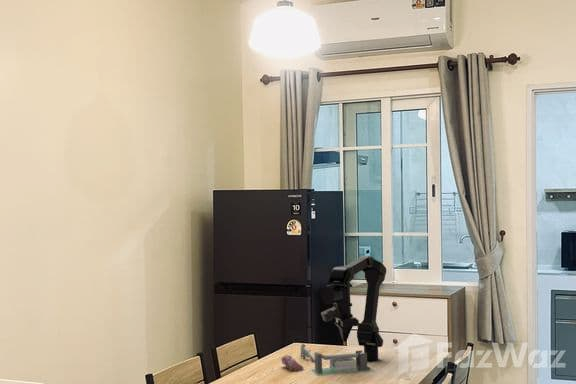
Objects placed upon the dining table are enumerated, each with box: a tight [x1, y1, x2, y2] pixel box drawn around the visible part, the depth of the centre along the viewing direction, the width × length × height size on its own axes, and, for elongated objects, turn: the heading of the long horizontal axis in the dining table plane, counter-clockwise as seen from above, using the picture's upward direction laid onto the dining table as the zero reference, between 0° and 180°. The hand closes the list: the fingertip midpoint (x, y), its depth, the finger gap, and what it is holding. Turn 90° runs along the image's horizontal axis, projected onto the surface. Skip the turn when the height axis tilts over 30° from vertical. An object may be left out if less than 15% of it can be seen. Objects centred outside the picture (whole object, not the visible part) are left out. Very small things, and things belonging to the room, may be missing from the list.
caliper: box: [300, 343, 315, 364], centre depth 273 cm, size 20×1×6 cm, turn 21°
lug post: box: [314, 351, 324, 373], centre depth 253 cm, size 4×2×7 cm, turn 14°
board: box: [310, 367, 374, 377], centre depth 255 cm, size 10×22×1 cm, turn 104°
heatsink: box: [329, 358, 357, 374], centre depth 255 cm, size 8×8×4 cm
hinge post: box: [355, 350, 371, 371], centre depth 257 cm, size 7×4×6 cm, turn 14°
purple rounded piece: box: [280, 354, 304, 372], centre depth 260 cm, size 10×5×7 cm, turn 24°
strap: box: [322, 352, 361, 361], centre depth 255 cm, size 3×16×2 cm, turn 104°
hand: (344, 341), depth 256 cm, fingers closed
